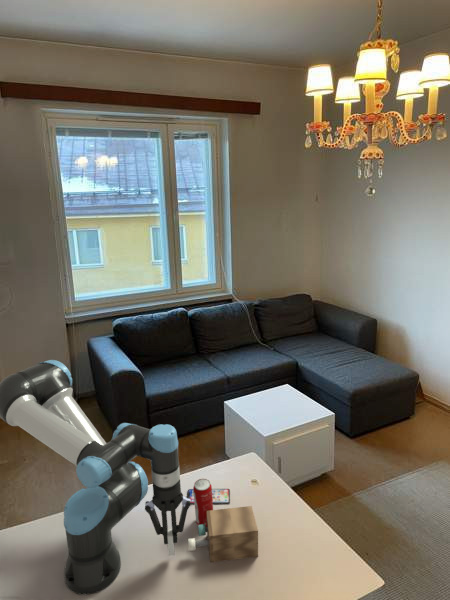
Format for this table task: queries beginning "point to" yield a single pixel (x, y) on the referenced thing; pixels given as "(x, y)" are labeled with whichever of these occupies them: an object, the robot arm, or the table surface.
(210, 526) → the console
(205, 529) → the teal knob
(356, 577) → the table surface
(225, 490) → the smartphone
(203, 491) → the beverage can
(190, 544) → the cream knob
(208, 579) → the table surface
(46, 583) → the table surface
